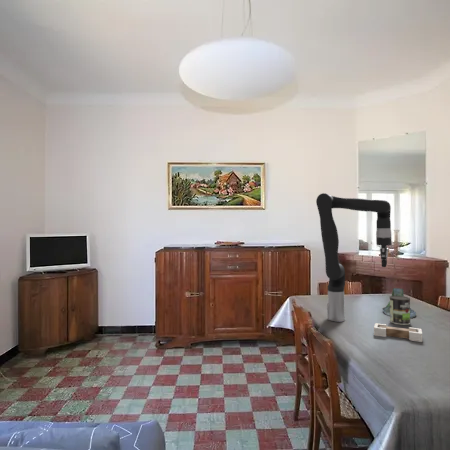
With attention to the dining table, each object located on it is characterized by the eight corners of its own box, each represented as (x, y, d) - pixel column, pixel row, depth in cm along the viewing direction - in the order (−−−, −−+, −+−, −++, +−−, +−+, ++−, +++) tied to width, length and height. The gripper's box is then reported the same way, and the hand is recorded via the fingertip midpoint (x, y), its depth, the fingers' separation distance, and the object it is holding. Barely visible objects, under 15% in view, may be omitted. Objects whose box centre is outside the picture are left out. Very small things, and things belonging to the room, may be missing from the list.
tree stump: (382, 317, 192) (380, 287, 196) (383, 316, 209) (381, 289, 213) (417, 319, 183) (414, 287, 188) (415, 318, 201) (412, 289, 205)
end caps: (374, 335, 161) (374, 327, 161) (375, 330, 167) (375, 323, 167) (422, 342, 151) (422, 333, 150) (421, 336, 157) (421, 328, 157)
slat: (379, 335, 161) (379, 327, 161) (380, 333, 165) (379, 325, 165) (416, 340, 154) (416, 332, 154) (416, 337, 157) (415, 329, 157)
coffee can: (415, 324, 177) (414, 298, 177) (399, 326, 174) (399, 300, 174) (400, 318, 187) (399, 294, 187) (385, 320, 184) (385, 296, 184)
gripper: (377, 236, 183) (377, 264, 183) (375, 237, 170) (375, 267, 170) (391, 236, 179) (392, 264, 179) (391, 237, 167) (391, 268, 167)
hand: (384, 265), depth 175 cm, fingers open, 8 cm apart
